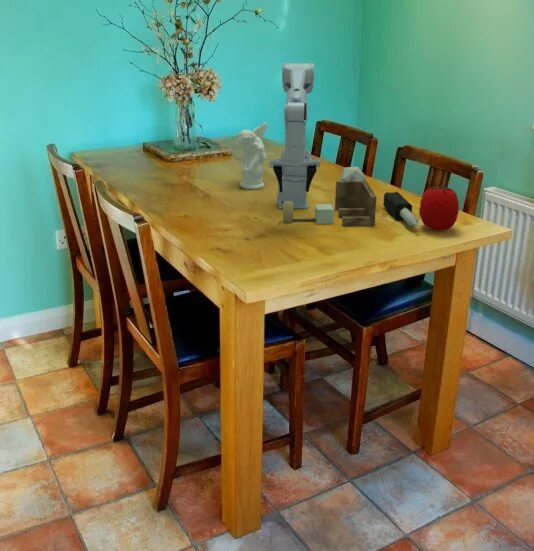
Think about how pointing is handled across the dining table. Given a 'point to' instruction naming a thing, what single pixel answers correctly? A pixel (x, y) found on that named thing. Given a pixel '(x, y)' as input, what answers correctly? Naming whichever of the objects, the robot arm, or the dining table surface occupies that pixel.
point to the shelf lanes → (355, 203)
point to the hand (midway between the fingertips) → (294, 191)
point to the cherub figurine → (252, 157)
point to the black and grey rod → (399, 208)
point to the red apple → (439, 208)
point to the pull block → (322, 216)
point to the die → (352, 174)
